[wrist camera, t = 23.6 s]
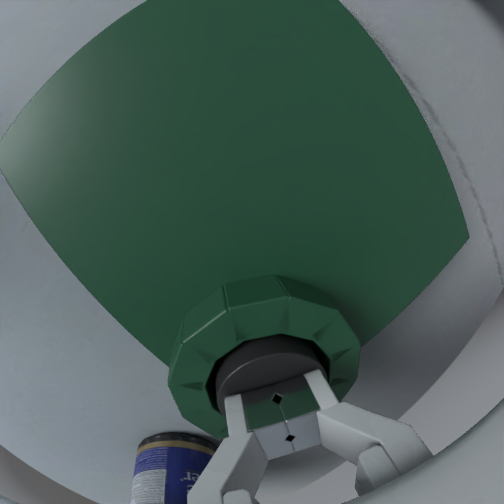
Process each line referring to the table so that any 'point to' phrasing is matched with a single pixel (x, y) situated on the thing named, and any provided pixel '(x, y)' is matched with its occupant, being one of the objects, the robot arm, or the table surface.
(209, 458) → the pill bottle
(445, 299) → the table surface
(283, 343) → the dark grey short cylinder
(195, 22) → the dispenser
